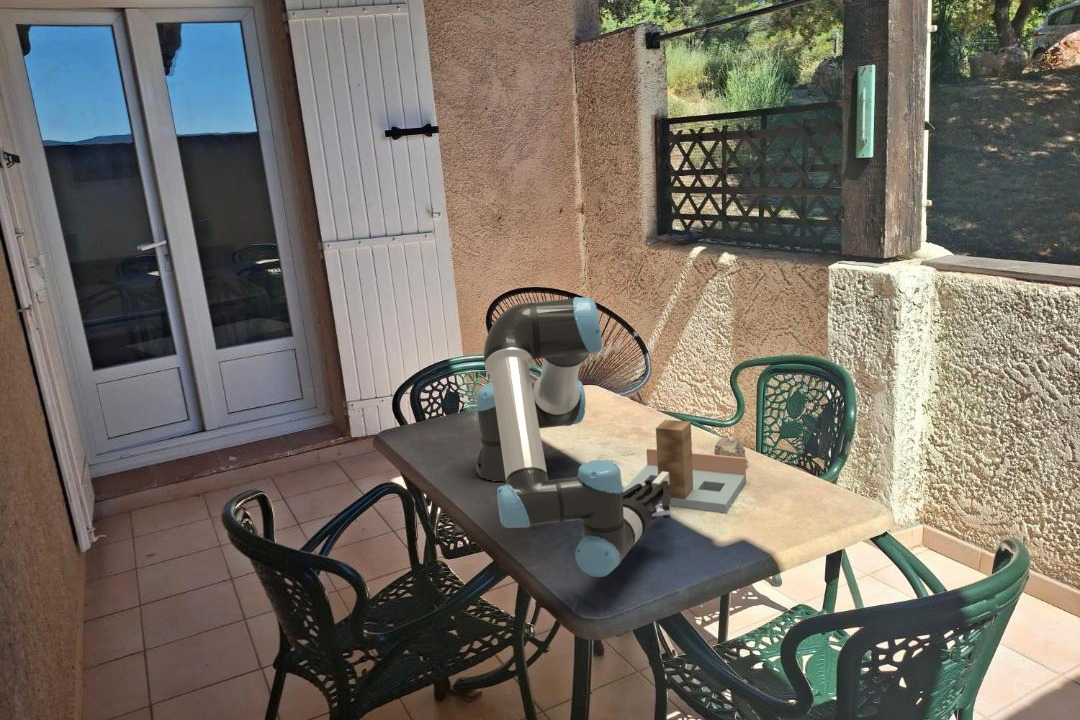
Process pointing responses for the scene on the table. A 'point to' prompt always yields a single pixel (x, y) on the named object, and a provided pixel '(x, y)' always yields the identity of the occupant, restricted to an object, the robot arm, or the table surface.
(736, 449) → the mineral specimen
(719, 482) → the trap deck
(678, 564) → the table surface
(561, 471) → the table surface
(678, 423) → the walnut block
